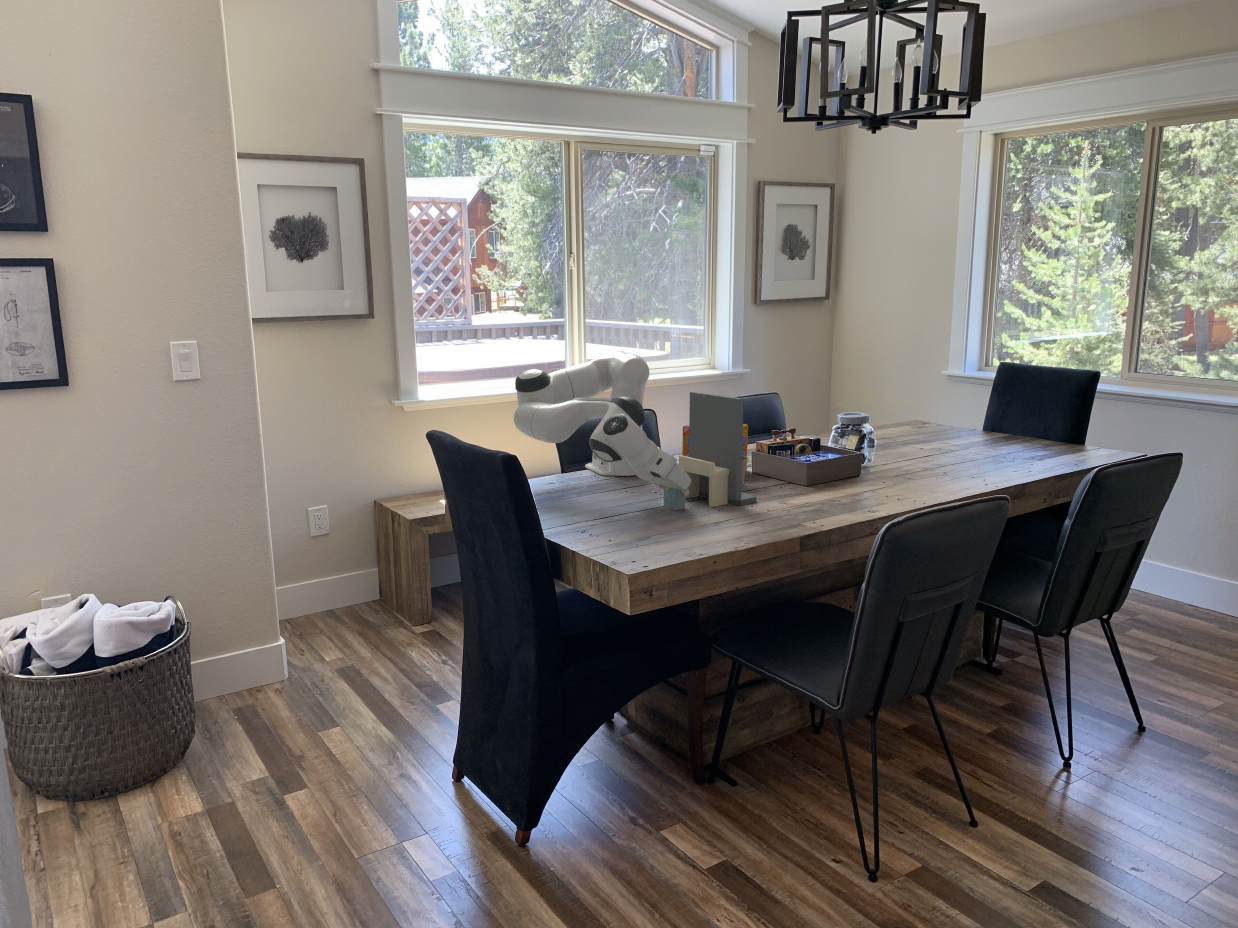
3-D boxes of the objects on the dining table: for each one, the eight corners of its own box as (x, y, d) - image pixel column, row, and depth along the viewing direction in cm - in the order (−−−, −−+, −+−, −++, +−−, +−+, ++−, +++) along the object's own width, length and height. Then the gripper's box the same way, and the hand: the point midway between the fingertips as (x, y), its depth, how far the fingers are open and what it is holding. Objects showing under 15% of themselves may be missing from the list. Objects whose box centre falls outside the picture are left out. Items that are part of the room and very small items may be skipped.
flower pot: (724, 490, 271) (724, 461, 270) (712, 483, 280) (713, 455, 279) (753, 487, 274) (754, 459, 272) (741, 481, 283) (741, 454, 281)
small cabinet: (661, 506, 252) (661, 478, 251) (673, 504, 255) (673, 476, 253) (673, 510, 249) (673, 481, 247) (684, 507, 251) (685, 479, 249)
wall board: (671, 496, 264) (672, 393, 258) (708, 489, 273) (710, 389, 267) (718, 509, 248) (720, 401, 242) (756, 501, 257) (759, 396, 251)
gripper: (618, 463, 251) (645, 492, 259) (665, 476, 235) (693, 506, 242) (630, 445, 252) (657, 475, 260) (678, 457, 236) (705, 488, 244)
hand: (675, 490), depth 251 cm, fingers open, 8 cm apart
